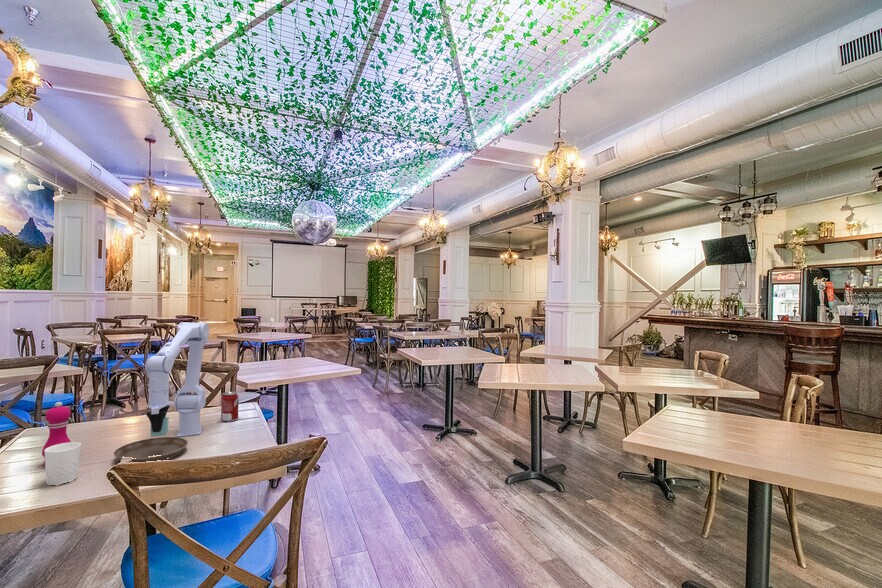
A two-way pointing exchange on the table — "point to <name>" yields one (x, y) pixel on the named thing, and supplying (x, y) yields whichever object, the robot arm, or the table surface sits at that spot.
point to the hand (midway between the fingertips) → (158, 429)
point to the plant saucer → (152, 449)
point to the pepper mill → (57, 426)
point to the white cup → (62, 462)
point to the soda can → (229, 406)
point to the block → (163, 430)
